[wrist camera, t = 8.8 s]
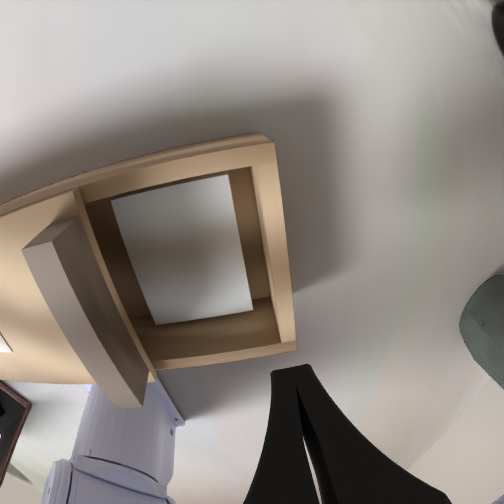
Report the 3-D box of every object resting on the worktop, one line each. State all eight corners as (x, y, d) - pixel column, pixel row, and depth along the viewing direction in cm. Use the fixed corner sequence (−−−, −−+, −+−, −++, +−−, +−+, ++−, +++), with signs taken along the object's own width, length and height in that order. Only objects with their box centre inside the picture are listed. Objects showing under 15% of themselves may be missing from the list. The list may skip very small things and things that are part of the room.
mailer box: (281, 298, 21) (296, 349, 16) (58, 329, 20) (36, 373, 16) (259, 132, 16) (274, 142, 11) (2, 204, 15) (-42, 234, 11)
